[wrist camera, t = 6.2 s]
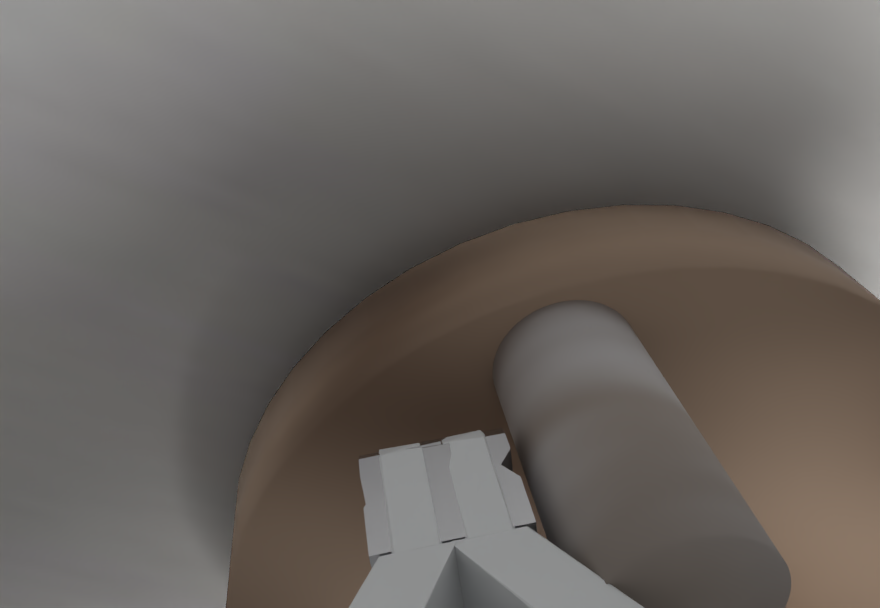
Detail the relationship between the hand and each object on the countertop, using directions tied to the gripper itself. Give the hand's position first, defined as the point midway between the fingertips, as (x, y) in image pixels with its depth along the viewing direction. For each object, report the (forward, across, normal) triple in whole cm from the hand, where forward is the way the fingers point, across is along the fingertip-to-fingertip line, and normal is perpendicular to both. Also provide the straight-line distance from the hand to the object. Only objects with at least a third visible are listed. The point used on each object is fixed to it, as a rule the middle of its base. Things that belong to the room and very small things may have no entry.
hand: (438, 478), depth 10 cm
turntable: (+3, +3, -5) cm, 6 cm away
